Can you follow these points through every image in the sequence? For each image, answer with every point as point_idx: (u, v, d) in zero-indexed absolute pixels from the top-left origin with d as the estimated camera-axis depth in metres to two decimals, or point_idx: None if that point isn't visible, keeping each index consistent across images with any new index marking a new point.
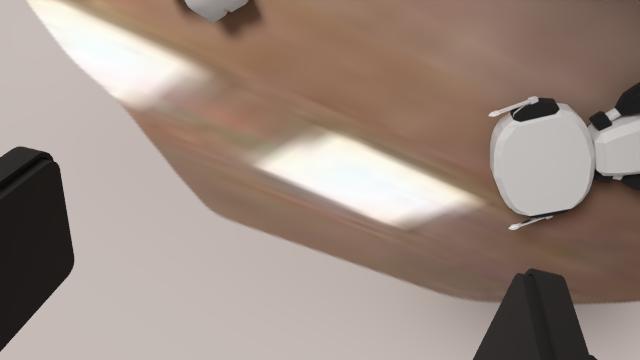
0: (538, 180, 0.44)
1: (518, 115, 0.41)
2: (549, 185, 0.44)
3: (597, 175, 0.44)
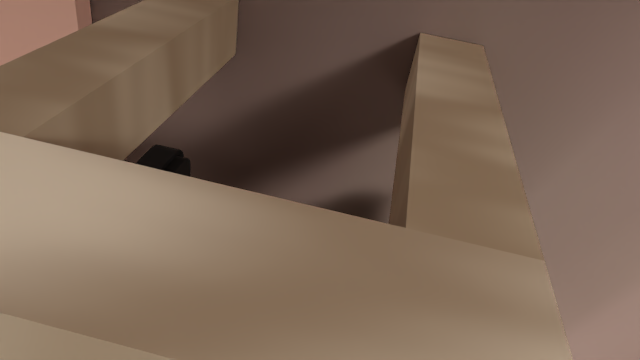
0: None
1: None
2: None
3: None
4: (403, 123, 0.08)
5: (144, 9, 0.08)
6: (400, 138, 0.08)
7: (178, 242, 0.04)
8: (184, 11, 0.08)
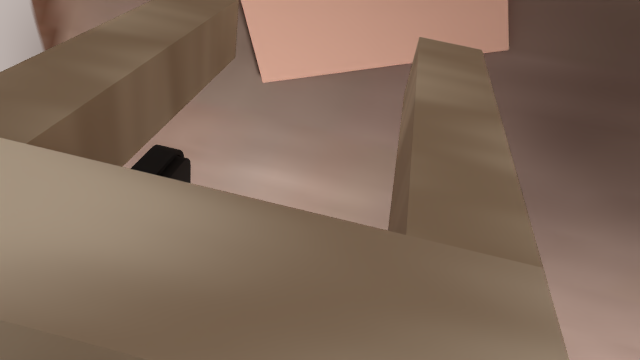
0: None
1: None
2: None
3: None
4: (402, 127, 0.08)
5: (145, 13, 0.08)
6: (399, 142, 0.08)
7: (181, 250, 0.04)
8: (184, 15, 0.08)
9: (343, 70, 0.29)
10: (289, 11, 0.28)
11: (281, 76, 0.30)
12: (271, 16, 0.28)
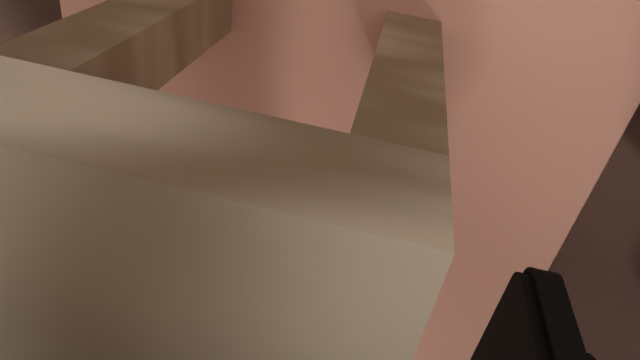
0: None
1: None
2: None
3: None
4: None
5: None
6: None
7: (185, 133, 0.05)
8: None
9: None
10: None
11: None
12: None
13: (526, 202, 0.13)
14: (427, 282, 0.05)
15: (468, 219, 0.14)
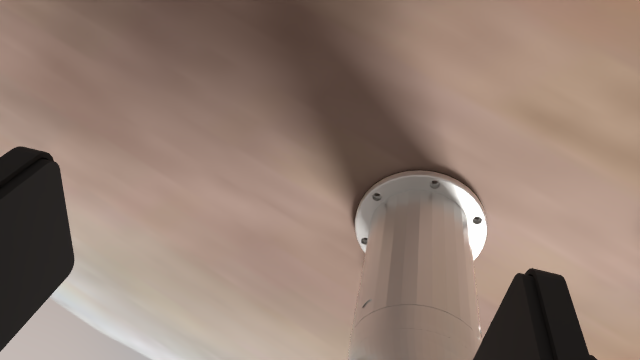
0: None
1: None
2: None
3: None
4: None
5: None
6: None
7: None
8: None
9: None
10: None
11: None
12: None
13: None
14: None
15: None
